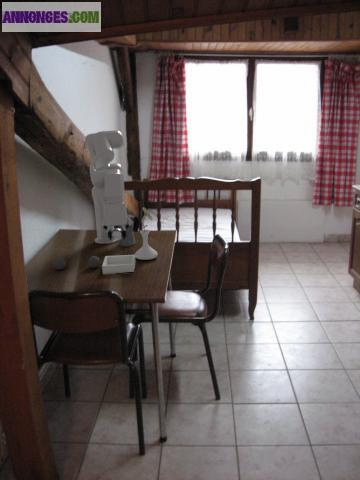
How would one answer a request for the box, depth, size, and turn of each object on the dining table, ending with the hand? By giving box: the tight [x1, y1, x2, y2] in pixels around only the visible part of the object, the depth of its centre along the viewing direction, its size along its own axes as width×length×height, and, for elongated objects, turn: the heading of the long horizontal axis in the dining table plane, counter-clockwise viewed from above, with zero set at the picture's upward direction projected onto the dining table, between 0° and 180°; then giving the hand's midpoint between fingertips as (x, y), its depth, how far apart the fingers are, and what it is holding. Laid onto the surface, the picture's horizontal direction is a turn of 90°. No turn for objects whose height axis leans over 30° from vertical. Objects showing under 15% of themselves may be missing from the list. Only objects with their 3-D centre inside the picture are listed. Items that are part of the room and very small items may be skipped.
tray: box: [101, 254, 136, 275], centre depth 220 cm, size 14×14×4 cm
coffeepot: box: [118, 214, 141, 247], centre depth 254 cm, size 15×9×18 cm, turn 62°
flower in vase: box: [134, 206, 159, 261], centre depth 231 cm, size 13×11×25 cm
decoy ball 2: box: [87, 255, 101, 269], centre depth 222 cm, size 6×6×6 cm
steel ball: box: [111, 227, 123, 241], centre depth 216 cm, size 6×6×6 cm
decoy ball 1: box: [53, 257, 67, 270], centre depth 222 cm, size 6×6×6 cm
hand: (117, 238), depth 216 cm, fingers closed on steel ball, 5 cm apart
